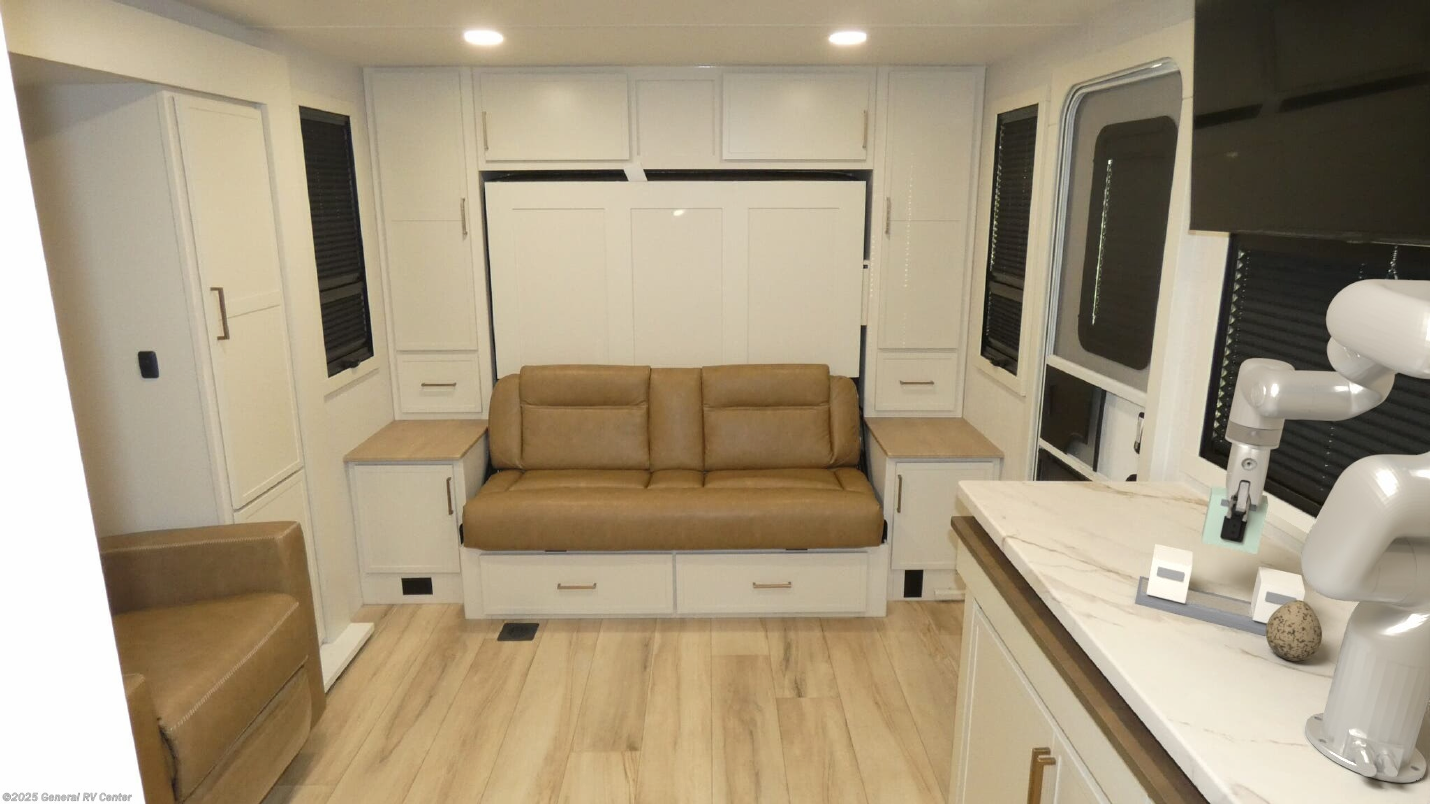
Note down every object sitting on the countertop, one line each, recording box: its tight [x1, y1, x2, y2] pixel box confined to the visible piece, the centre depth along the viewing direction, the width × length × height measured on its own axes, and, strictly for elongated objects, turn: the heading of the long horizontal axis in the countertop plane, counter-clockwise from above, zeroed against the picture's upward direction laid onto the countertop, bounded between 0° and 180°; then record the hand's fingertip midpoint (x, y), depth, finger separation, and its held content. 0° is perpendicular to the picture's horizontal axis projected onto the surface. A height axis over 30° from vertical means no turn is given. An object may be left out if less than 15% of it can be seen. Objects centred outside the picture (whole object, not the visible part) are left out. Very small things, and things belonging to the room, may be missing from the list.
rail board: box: [1134, 543, 1306, 637], centre depth 140 cm, size 10×25×9 cm, turn 59°
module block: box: [1201, 485, 1269, 555], centre depth 137 cm, size 5×8×9 cm, turn 59°
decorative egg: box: [1265, 600, 1323, 662], centre depth 126 cm, size 7×7×10 cm
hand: (1230, 533), depth 138 cm, fingers closed on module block, 4 cm apart
